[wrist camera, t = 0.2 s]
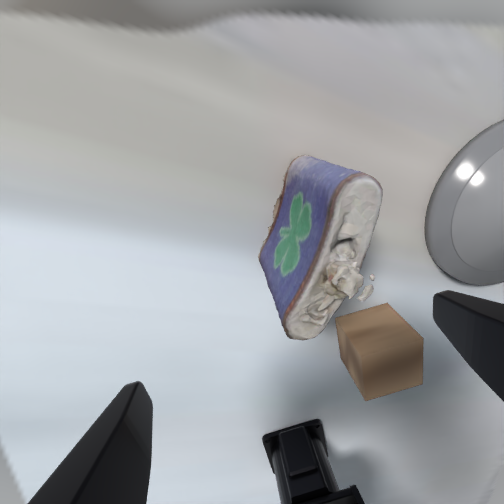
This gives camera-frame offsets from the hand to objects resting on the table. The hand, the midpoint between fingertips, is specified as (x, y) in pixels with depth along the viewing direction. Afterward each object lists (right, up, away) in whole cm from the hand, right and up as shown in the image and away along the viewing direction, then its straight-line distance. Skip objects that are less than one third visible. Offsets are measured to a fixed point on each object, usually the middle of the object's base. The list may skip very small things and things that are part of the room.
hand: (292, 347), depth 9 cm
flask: (+1, +6, +14) cm, 15 cm away
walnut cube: (+9, -5, +19) cm, 22 cm away
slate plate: (+20, +7, +16) cm, 26 cm away
